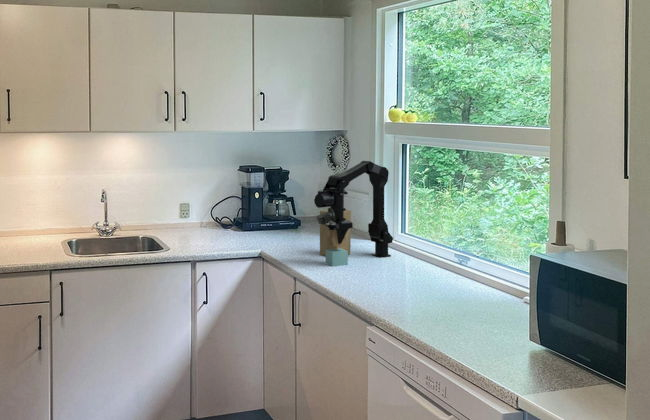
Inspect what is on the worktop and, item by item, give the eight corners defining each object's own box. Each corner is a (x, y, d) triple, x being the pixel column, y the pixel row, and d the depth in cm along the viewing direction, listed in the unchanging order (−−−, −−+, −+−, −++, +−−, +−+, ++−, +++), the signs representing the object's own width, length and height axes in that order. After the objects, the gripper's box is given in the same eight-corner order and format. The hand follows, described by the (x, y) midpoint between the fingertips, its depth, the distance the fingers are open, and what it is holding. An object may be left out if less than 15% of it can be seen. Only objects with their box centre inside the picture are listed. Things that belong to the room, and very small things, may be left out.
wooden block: (333, 252, 368) (333, 208, 365) (350, 254, 362) (351, 210, 359) (319, 255, 360) (319, 210, 358) (336, 258, 354) (337, 212, 351)
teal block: (325, 263, 342) (325, 249, 341) (340, 262, 345) (340, 248, 344) (332, 266, 336) (332, 252, 335) (347, 265, 339) (347, 251, 338)
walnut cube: (328, 244, 341) (328, 230, 340) (340, 243, 343) (340, 229, 342) (333, 246, 336) (333, 232, 335) (345, 245, 338) (345, 231, 337)
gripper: (310, 204, 343) (310, 240, 345) (328, 209, 326) (328, 247, 328) (334, 202, 347) (334, 238, 349) (353, 207, 330) (353, 245, 332)
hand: (336, 242), depth 339 cm, fingers closed on walnut cube, 5 cm apart
